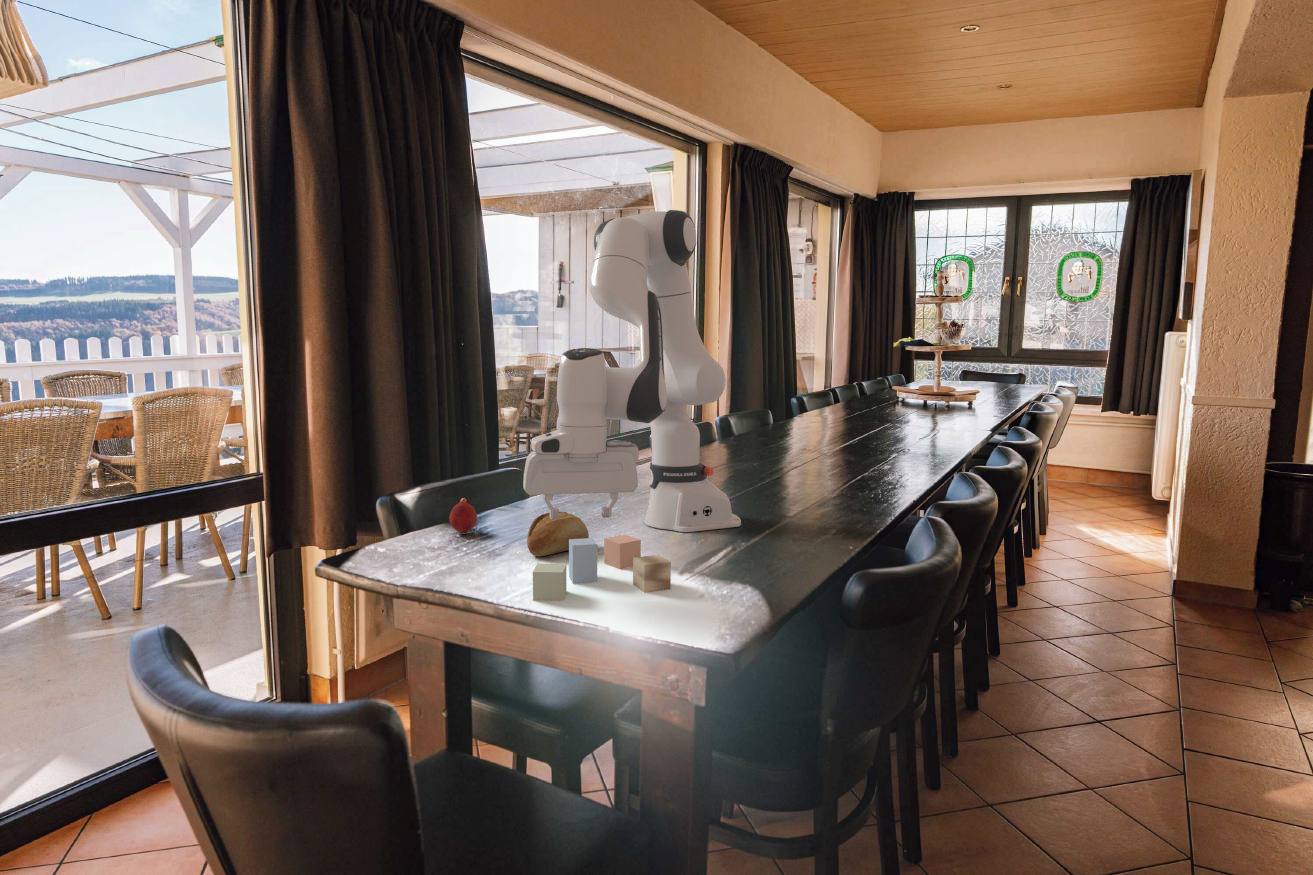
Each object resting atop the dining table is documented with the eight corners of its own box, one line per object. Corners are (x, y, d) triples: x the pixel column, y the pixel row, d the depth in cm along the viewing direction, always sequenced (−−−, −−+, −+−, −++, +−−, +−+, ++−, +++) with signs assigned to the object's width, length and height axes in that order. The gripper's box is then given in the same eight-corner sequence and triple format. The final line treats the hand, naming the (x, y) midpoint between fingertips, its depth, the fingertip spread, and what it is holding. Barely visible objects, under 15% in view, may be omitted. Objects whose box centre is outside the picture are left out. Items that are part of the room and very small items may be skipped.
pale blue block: (592, 575, 152) (592, 537, 151) (597, 582, 148) (597, 544, 147) (569, 576, 151) (569, 539, 150) (572, 583, 147) (572, 545, 146)
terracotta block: (624, 559, 163) (624, 534, 162) (640, 565, 159) (640, 539, 159) (604, 563, 160) (604, 538, 159) (619, 569, 156) (619, 543, 155)
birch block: (658, 581, 149) (658, 554, 148) (670, 589, 144) (670, 561, 144) (633, 584, 147) (633, 557, 146) (644, 593, 142) (644, 564, 142)
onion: (470, 538, 178) (469, 501, 177) (445, 536, 179) (444, 500, 178) (481, 531, 183) (480, 496, 182) (457, 530, 184) (456, 495, 183)
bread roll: (513, 555, 165) (513, 516, 164) (564, 540, 177) (564, 504, 176) (548, 563, 159) (548, 523, 158) (599, 548, 171) (599, 510, 170)
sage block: (566, 591, 143) (566, 563, 142) (563, 601, 138) (562, 572, 137) (537, 591, 143) (537, 563, 142) (533, 601, 138) (532, 571, 137)
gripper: (634, 438, 152) (633, 512, 154) (522, 439, 147) (522, 515, 148) (642, 442, 146) (641, 519, 147) (525, 443, 141) (525, 523, 142)
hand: (580, 517), depth 148 cm, fingers open, 8 cm apart
